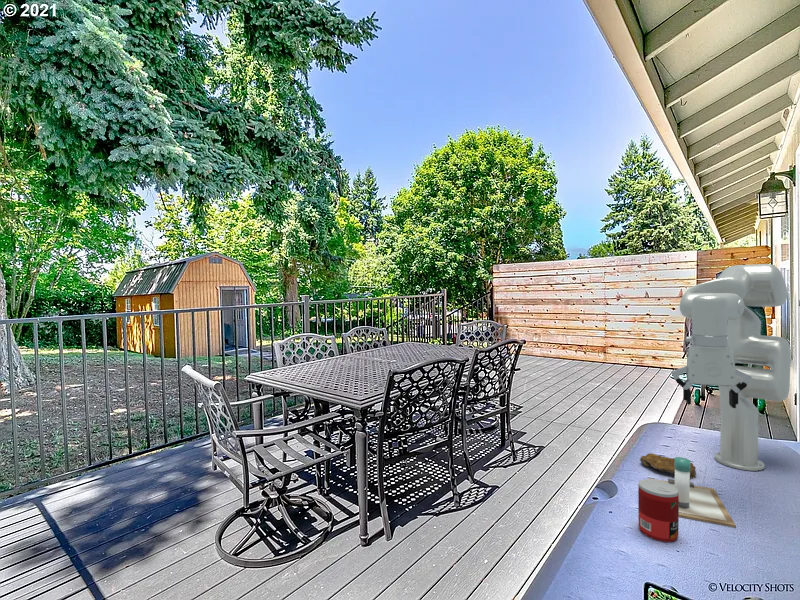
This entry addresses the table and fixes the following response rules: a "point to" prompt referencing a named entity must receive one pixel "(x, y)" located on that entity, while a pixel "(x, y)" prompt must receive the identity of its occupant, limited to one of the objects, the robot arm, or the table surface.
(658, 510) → the canned food
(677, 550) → the table surface
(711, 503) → the clipboard
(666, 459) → the decorative rock
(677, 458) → the marker
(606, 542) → the table surface
